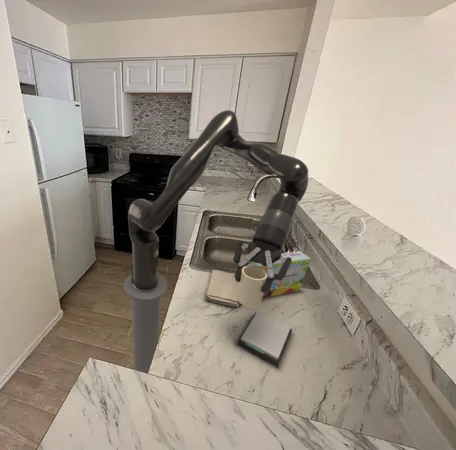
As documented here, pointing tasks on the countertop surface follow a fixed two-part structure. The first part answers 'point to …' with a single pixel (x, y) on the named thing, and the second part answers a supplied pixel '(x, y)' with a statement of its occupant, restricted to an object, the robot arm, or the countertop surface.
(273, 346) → the kitchen scale
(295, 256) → the snack box
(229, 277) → the washcloth
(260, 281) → the ceramic cup
